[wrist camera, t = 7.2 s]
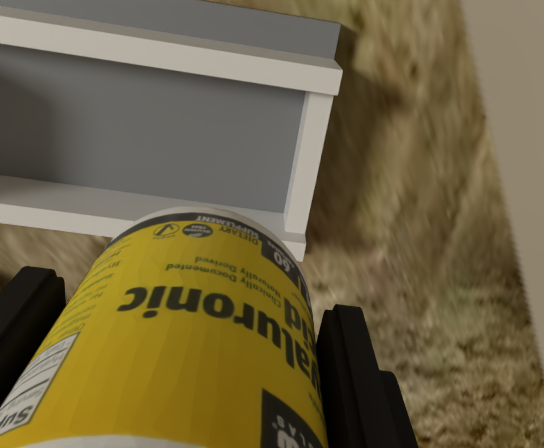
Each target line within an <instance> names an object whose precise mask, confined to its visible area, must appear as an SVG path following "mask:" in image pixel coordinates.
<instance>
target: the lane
mask: <svg viewBox="0 0 544 448" xmlns="http://www.w3.org/2000/svg"><path fill="white" fill-rule="evenodd" d="M340 27H341V24H340V23H338V22H333V21H327V20H321V19H315V18H309V17H303V16H297V15H290V14H284V13H278V12H272V11H266V10H260V9H254V8H248V7H242V6H236V5H230V4H224V3H218V2H212V1H206V0H0V223H5V224H13V225H20V226H28V227H36V228H44V229H52V230H59V231H67V232H75V233H83V234H90V235H98V236H106V237H115V236H116V235H117V234H119V233H120V232H121V231H122V230H123V229H125V228H126V227H127V226H129V225H130V224H132V223H133V222H135V221H137V220H139V219H141V218H143V217H144V216H146V215H148V214H151V213H154V212H157V211H160V210H164V209H168V208H173V207H178V206H207V207H214V208H220V209H225V210H228V211H232V212H235V213H238V214H240V215H243V216H245V217H248V218H250V219H252V220H254V221H255V222H257V223H259V224H260V225H262V226H264V227H265V228H267V229H268V230H269V231H271V232H272V233H273V234H274V235H276V236H277V237H278V238H279V239H280V240H281V241H282V242H283V243H284V244H285V245H286V247H287V248H288V249H289V250H290V252H291V253H292V254H293V255H294V257H295V259H296V260H297V261H301V262H303V257H304V252H305V248H306V238H305V231H306V226H307V221H308V217H309V212H310V207H311V202H312V197H313V193H314V188H315V183H316V178H317V173H318V169H319V164H320V159H321V154H322V149H323V144H324V140H325V135H326V130H327V125H328V120H329V116H330V111H331V106H332V101H333V96H334V95H337V96H338V92H339V87H340V82H341V78H342V73H343V70H342V69H341V67H340V66H339V65H338V64H337V63H336V61H335V60H334V57H335V52H336V47H337V42H338V37H339V32H340Z"/></svg>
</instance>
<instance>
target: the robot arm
mask: <svg viewBox="0 0 544 448" xmlns="http://www.w3.org/2000/svg"><path fill="white" fill-rule="evenodd" d="M65 306H66V301H65V283H64V279H63V278H62V277H57V275H56V272H55V270H53V269H46V268H38V267H30V266H25V267H23V268H22V269H21V270H20V271H19V272H18V273H17V275H16V276H15V277H14V278H13V279H12V280H11V281H10V283H9V284H8V285H7V286H6V287H5V288H4V289H3V291H2V292H1V293H0V406H1V405H2V403H3V402H4V400H5V398H6V397H7V396H8V394H9V393H10V391H11V390H12V388H13V386H14V385H15V383H16V382H17V380H18V379H19V377H20V376H21V374H22V372H23V371H24V369H25V368H26V366H27V365H28V363H29V362H30V360H31V359H32V357H33V356H34V354H35V352H36V351H37V349H38V348H39V346H40V345H41V343H42V342H43V340H44V339H45V337H46V336H47V334H48V333H49V331H50V330H51V328H52V327H53V325H54V323H55V322H56V320H57V319H58V317H59V316H60V314H61V313H62V311H63V309H64V308H65ZM316 349H317V356H318V363H319V372H320V378H321V390H322V397H323V405H324V413H325V422H326V427H327V440H328V447H329V448H418V445H417V441H416V438H415V435H414V432H413V429H412V426H411V423H410V419H409V416H408V413H407V410H406V407H405V404H404V401H403V397H402V394H401V391H400V388H399V385H398V382H397V379H396V377H395V375H394V374H393V373H392V372H390V371H381V370H379V368H378V364H377V361H376V357H375V354H374V350H373V347H372V343H371V340H370V336H369V332H368V329H367V325H366V322H365V318H364V315H363V311H362V309H361V308H360V307H355V306H347V305H339V304H336V305H335V306H334V308H333V310H325V312H324V314H323V318H322V322H321V326H320V330H319V334H318V338H317V342H316Z"/></svg>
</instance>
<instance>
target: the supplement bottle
mask: <svg viewBox="0 0 544 448" xmlns="http://www.w3.org/2000/svg"><path fill="white" fill-rule="evenodd" d="M0 448H329V447H328V440H327V427H326V422H325V413H324V405H323V397H322V390H321V378H320V372H319V363H318V356H317V349H316V341H315V333H314V322H313V314H312V309H311V303H310V297H309V292H308V287H307V284H306V280H305V277H304V275H303V272H302V270H301V268H300V266H299V264H298V262H297V260H296V259H295V257H294V255H293V254H292V253H291V252H290V250H289V249H288V248H287V247H286V245H285V244H284V243H283V242H282V241H281V240H280V239H279V238H278V237H277V236H276V235H274V234H273V233H272V232H271V231H269V230H268V229H267V228H265V227H264V226H262V225H260V224H259V223H257V222H255V221H254V220H252V219H250V218H248V217H245V216H243V215H240V214H238V213H235V212H232V211H228V210H225V209H220V208H214V207H207V206H178V207H173V208H168V209H164V210H160V211H157V212H154V213H151V214H148V215H146V216H144V217H143V218H141V219H139V220H137V221H135V222H133V223H132V224H130V225H129V226H127V227H126V228H125V229H123V230H122V231H121V232H120V233H119V234H117V235H116V236H115V237H114V238H113V239H112V241H111V242H110V243H109V244H108V245H107V246H106V247H105V248H104V250H103V251H102V252H101V254H100V255H99V256H98V258H97V259H96V261H95V262H94V264H93V265H92V267H91V268H90V270H89V271H88V273H87V274H86V276H85V277H84V279H83V280H82V282H81V283H80V285H79V287H78V288H77V290H76V291H75V293H74V294H73V296H72V298H71V299H70V301H69V302H68V304H67V305H66V306H65V308H64V309H63V311H62V313H61V314H60V316H59V317H58V319H57V320H56V322H55V323H54V325H53V327H52V328H51V330H50V331H49V333H48V334H47V336H46V337H45V339H44V340H43V342H42V343H41V345H40V346H39V348H38V349H37V351H36V352H35V354H34V356H33V357H32V359H31V360H30V362H29V363H28V365H27V366H26V368H25V369H24V371H23V372H22V374H21V376H20V377H19V379H18V380H17V382H16V383H15V385H14V386H13V388H12V390H11V391H10V393H9V394H8V396H7V397H6V398H5V400H4V402H3V403H2V405H1V406H0Z"/></svg>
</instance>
